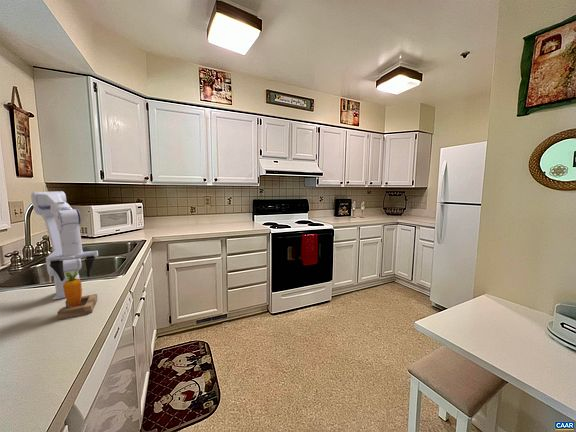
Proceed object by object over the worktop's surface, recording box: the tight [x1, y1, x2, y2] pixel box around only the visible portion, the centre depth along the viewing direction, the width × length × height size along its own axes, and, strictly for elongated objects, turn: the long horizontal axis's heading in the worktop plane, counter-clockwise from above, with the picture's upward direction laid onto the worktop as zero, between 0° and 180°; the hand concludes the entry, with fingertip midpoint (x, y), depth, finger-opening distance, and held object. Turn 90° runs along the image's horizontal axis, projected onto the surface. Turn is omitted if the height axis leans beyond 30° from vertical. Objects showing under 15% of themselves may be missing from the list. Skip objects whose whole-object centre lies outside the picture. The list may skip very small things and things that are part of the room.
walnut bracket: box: [57, 293, 99, 320], centre depth 90 cm, size 11×9×2 cm
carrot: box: [63, 270, 83, 308], centre depth 88 cm, size 5×5×15 cm
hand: (76, 278), depth 92 cm, fingers open, 7 cm apart
